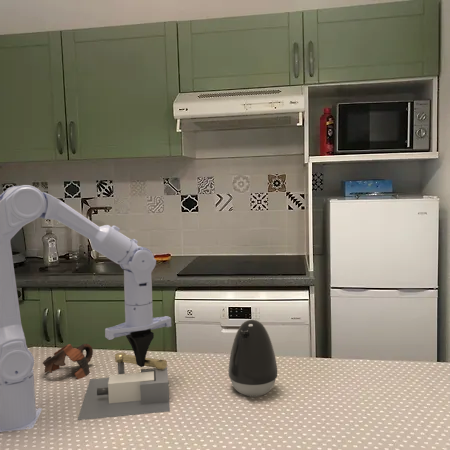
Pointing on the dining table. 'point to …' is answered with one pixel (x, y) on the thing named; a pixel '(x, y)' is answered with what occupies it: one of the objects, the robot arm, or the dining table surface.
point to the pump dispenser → (252, 360)
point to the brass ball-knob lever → (148, 361)
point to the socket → (150, 402)
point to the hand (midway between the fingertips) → (140, 365)
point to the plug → (125, 386)
